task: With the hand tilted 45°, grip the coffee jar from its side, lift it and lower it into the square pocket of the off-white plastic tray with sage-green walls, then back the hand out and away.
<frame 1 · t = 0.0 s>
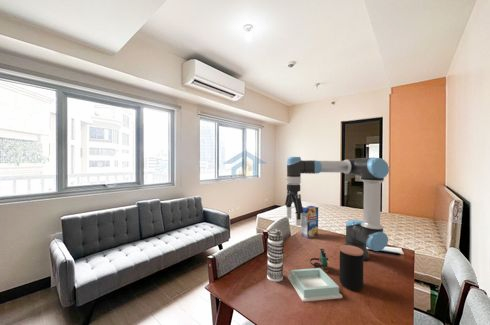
hand: (293, 221, 116), 28 cm above the table, tool pointing down, fingers open, 13 cm apart
coffee jar: (351, 285, 104), on the table
decorative candle: (275, 277, 110), on the table
binoculars: (319, 269, 119), on the table
pocket tray: (312, 287, 102), on the table
juice carton: (309, 236, 172), on the table
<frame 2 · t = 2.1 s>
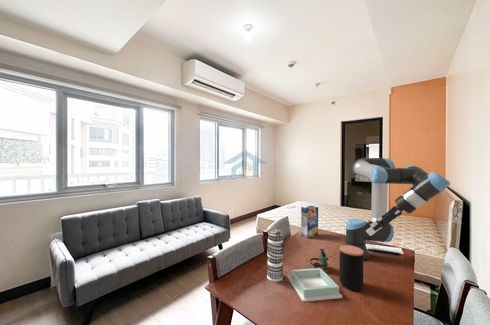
hand: (370, 230, 99), 29 cm above the table, tool tilted 45°, fingers open, 13 cm apart
nothing on the table moved.
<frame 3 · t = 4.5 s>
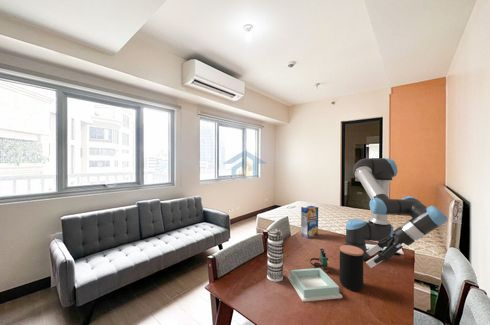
hand: (368, 259, 99), 15 cm above the table, tool tilted 45°, fingers open, 13 cm apart
nothing on the table moved.
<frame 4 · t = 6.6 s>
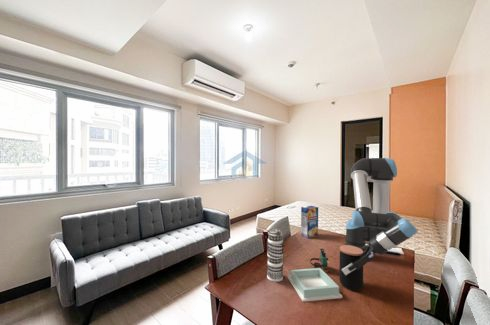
hand: (344, 267, 105), 8 cm above the table, tool tilted 45°, fingers closed on coffee jar, 11 cm apart
coffee jar: (351, 285, 104), on the table, touching gripper
everything else where it was.
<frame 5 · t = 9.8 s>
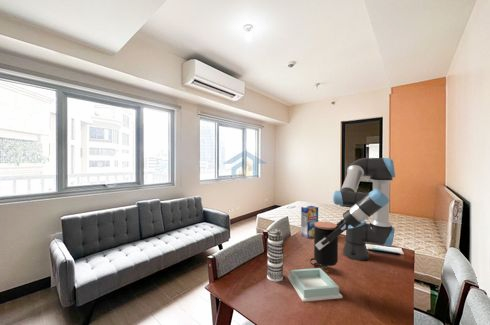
hand: (319, 243, 102), 21 cm above the table, tool tilted 45°, fingers closed on coffee jar, 11 cm apart
coffee jar: (325, 261, 100), point 13 cm above the table, touching gripper
everything else where it was.
when the fingers open (10 cm above the table, at t = 13.3 s): coffee jar drops 1 cm, resting on pocket tray.
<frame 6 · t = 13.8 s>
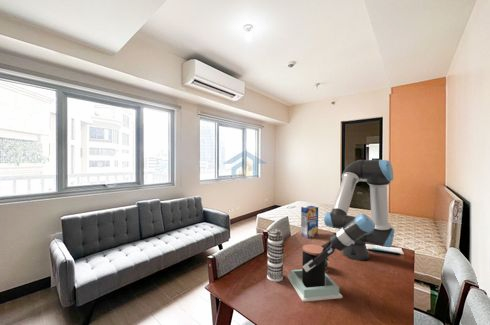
hand: (308, 263, 103), 11 cm above the table, tool tilted 45°, fingers open, 13 cm apart
coffee jar: (313, 285, 102), point 1 cm above the table, touching pocket tray
everything else where it was.
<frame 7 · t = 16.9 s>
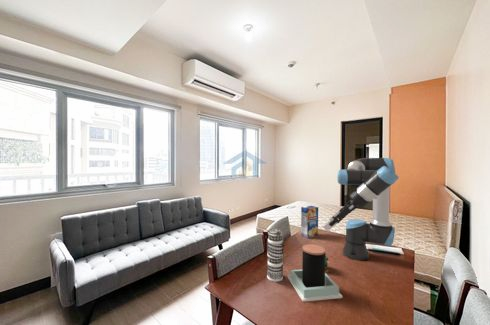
hand: (328, 225, 99), 31 cm above the table, tool tilted 45°, fingers open, 13 cm apart
nothing on the table moved.
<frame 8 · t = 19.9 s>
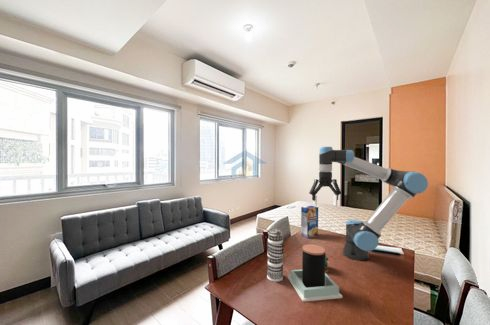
hand: (325, 205, 128), 35 cm above the table, tool pointing down, fingers open, 13 cm apart
nothing on the table moved.
at the end: coffee jar 0.2 cm off-centre on the pocket tray, point 0.8 cm above the pocket tray's base; coffee jar tilted 0°; the gripper is holding nothing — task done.
